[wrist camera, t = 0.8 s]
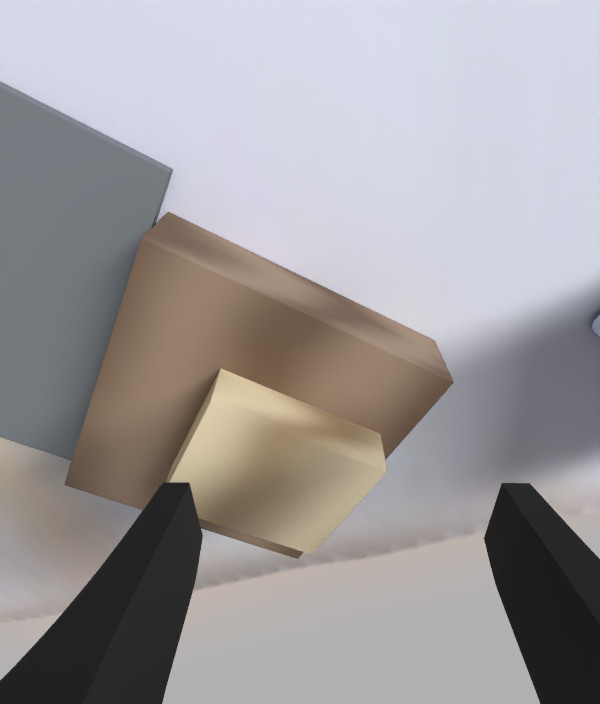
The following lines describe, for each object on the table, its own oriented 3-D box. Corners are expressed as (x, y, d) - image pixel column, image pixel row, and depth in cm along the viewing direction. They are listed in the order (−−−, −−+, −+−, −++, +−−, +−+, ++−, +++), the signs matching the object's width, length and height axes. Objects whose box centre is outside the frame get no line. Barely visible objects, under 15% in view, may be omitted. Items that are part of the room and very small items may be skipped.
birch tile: (380, 433, 18) (387, 471, 16) (311, 515, 21) (312, 554, 19) (220, 368, 16) (210, 402, 15) (171, 466, 19) (157, 504, 18)
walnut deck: (434, 340, 19) (453, 382, 16) (299, 510, 25) (297, 558, 23) (168, 211, 16) (141, 238, 14) (91, 438, 23) (64, 484, 20)
